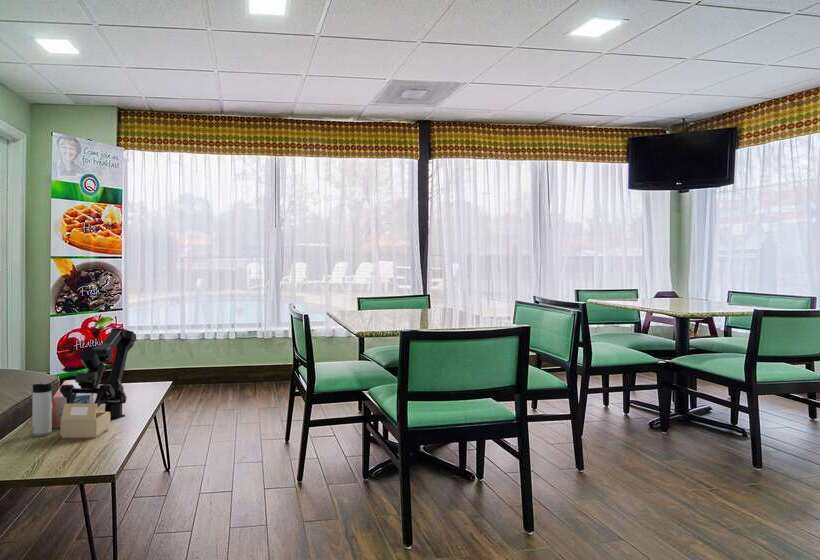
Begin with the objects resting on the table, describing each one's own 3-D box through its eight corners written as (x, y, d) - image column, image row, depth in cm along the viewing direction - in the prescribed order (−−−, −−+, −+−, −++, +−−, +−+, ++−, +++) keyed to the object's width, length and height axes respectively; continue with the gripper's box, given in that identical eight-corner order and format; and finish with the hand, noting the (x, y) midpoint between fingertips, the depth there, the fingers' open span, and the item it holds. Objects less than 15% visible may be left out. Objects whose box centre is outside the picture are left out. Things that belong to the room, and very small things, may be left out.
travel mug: (29, 437, 225) (29, 384, 224) (35, 432, 231) (35, 381, 230) (48, 436, 226) (48, 383, 226) (53, 431, 233) (53, 380, 232)
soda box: (91, 426, 242) (91, 394, 242) (51, 429, 236) (51, 397, 236) (97, 404, 279) (97, 377, 279) (63, 407, 273) (63, 379, 273)
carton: (76, 429, 236) (76, 411, 236) (110, 429, 237) (110, 411, 237) (60, 438, 224) (60, 419, 224) (96, 438, 225) (96, 419, 224)
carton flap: (64, 403, 226) (64, 403, 225) (97, 403, 226) (96, 403, 226) (61, 419, 224) (61, 419, 223) (94, 419, 224) (94, 419, 224)
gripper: (61, 363, 229) (46, 399, 219) (111, 364, 231) (98, 399, 220) (72, 379, 237) (57, 414, 227) (120, 379, 239) (108, 414, 228)
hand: (80, 410), depth 225 cm, fingers open, 9 cm apart
